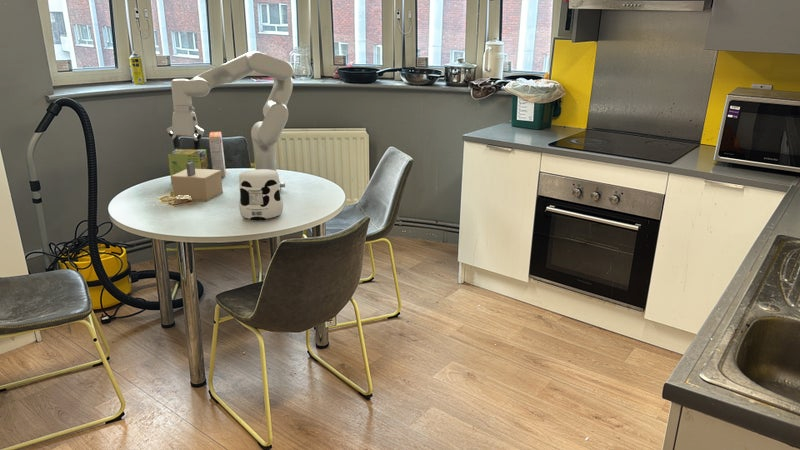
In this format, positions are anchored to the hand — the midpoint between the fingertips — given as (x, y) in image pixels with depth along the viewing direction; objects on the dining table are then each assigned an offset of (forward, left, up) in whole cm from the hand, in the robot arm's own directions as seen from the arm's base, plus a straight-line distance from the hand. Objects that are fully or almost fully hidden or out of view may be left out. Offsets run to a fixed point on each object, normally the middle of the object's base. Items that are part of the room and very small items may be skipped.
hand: (187, 148), depth 263 cm
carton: (0, -4, -23) cm, 23 cm away
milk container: (-41, +18, -23) cm, 50 cm away
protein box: (+16, -24, -23) cm, 37 cm away
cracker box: (+10, -42, -23) cm, 49 cm away
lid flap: (0, -4, -12) cm, 13 cm away
